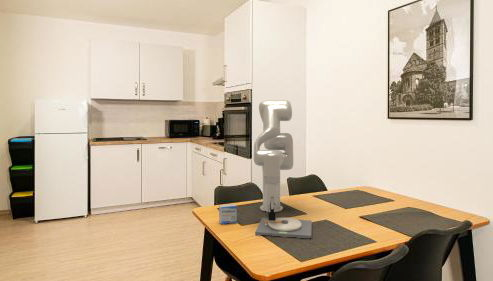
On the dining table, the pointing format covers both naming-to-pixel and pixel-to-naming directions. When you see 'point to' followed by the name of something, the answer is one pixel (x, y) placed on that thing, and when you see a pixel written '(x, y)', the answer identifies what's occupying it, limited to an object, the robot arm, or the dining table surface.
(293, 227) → the dial
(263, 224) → the dial board
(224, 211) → the medicine box
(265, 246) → the dining table surface
